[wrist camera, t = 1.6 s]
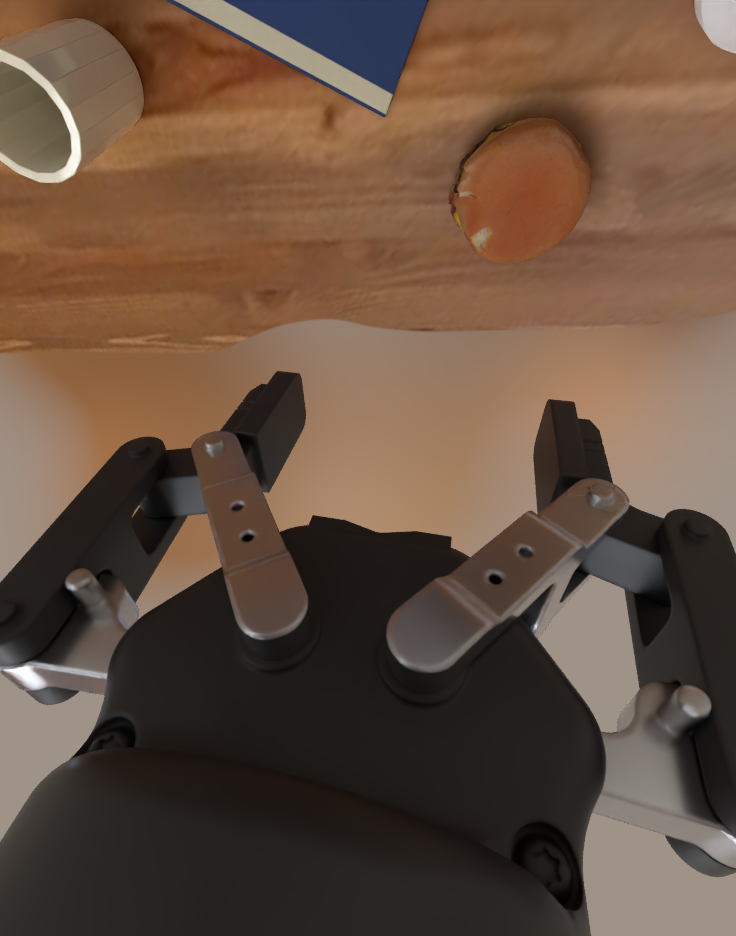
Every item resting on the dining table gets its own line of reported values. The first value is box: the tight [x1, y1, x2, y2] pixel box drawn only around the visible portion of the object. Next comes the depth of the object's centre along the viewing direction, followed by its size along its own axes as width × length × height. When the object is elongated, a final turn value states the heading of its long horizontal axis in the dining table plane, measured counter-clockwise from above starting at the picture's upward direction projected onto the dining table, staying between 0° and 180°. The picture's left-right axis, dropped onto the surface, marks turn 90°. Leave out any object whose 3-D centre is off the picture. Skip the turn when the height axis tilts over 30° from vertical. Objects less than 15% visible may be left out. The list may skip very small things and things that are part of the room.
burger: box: [449, 117, 592, 263], centre depth 34 cm, size 10×9×5 cm
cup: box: [0, 18, 144, 183], centre depth 29 cm, size 6×6×10 cm
